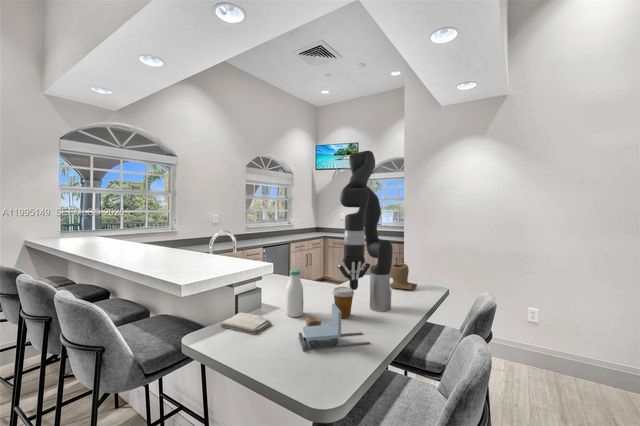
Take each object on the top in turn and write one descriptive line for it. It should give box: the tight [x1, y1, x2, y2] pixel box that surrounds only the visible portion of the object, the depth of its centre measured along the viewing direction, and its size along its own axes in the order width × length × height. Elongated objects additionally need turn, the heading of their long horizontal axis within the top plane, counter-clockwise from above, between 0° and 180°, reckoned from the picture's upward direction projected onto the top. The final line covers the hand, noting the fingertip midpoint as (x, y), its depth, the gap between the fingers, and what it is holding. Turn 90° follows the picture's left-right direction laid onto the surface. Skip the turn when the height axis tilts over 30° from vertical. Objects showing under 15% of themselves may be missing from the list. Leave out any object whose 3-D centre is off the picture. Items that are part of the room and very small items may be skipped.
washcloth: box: [220, 312, 272, 335], centre depth 122 cm, size 12×18×3 cm, turn 67°
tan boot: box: [390, 262, 418, 291], centre depth 177 cm, size 15×12×15 cm
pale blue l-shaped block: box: [302, 302, 342, 347], centre depth 108 cm, size 12×9×12 cm
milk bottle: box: [285, 269, 304, 318], centre depth 134 cm, size 8×8×20 cm
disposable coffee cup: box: [332, 286, 355, 320], centre depth 133 cm, size 10×10×12 cm
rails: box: [298, 331, 371, 352], centre depth 109 cm, size 24×10×2 cm, turn 102°
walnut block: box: [305, 315, 322, 327], centre depth 117 cm, size 5×5×5 cm
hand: (353, 289), depth 110 cm, fingers closed
